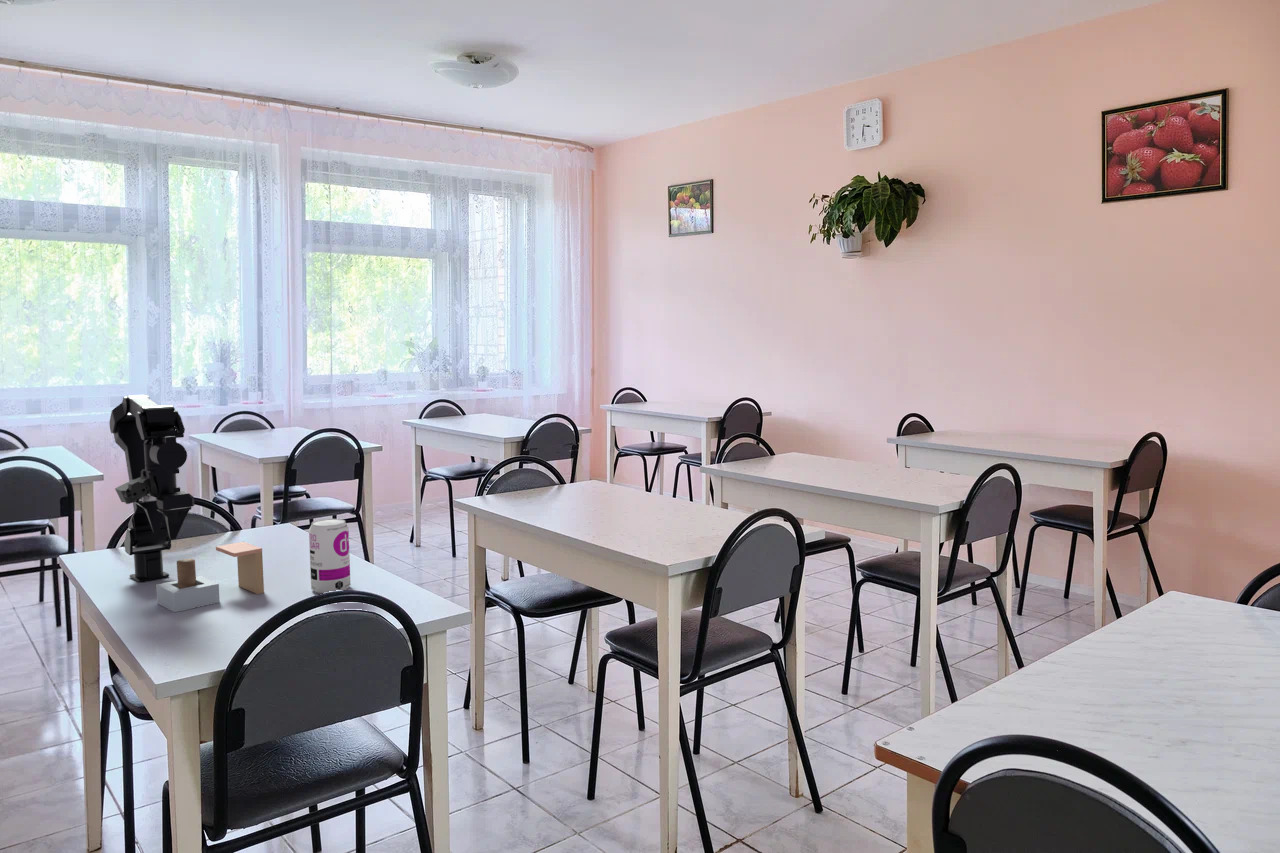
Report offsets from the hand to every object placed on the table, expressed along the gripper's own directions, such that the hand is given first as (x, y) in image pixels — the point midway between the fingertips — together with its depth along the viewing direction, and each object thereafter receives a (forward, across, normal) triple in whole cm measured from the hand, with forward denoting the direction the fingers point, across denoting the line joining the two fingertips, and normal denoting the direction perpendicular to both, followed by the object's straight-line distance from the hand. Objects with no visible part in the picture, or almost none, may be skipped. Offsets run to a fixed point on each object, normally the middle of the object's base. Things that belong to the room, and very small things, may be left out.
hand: (164, 536), depth 195 cm
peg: (+12, +11, 0) cm, 17 cm away
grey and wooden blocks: (+12, +11, +5) cm, 17 cm away
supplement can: (+13, +24, +25) cm, 37 cm away
